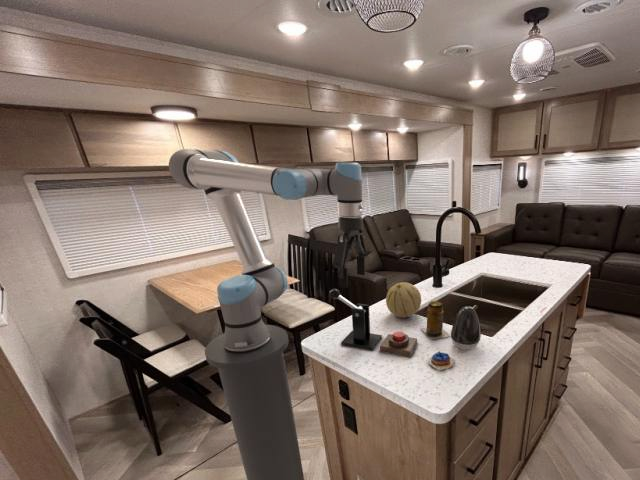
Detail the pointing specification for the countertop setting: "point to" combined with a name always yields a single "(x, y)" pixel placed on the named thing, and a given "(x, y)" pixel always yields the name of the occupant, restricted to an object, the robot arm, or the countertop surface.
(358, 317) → the bracket
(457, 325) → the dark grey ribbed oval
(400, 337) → the button
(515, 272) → the countertop surface
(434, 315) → the condiment
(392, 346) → the button block
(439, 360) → the dessert
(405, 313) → the cantaloupe
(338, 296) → the lever
